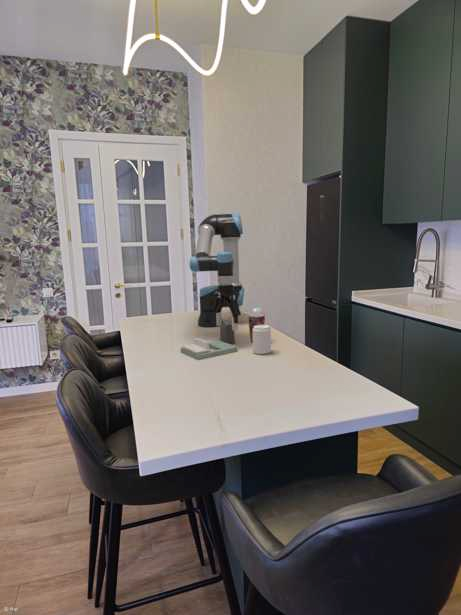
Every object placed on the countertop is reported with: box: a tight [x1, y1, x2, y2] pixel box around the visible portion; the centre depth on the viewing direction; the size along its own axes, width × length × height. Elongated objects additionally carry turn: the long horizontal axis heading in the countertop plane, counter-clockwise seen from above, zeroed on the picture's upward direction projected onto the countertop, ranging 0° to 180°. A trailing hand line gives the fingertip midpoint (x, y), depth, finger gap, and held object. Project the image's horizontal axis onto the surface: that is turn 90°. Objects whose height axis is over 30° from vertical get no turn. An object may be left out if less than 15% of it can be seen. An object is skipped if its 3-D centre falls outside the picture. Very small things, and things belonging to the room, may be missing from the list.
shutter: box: [181, 337, 211, 354], centre depth 180 cm, size 7×13×4 cm, turn 35°
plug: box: [219, 320, 236, 345], centre depth 197 cm, size 5×5×11 cm
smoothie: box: [247, 301, 266, 344], centre depth 197 cm, size 8×8×20 cm
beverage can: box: [252, 324, 272, 355], centre depth 180 cm, size 8×8×12 cm
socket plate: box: [180, 340, 239, 361], centre depth 184 cm, size 21×16×2 cm
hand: (227, 327), depth 196 cm, fingers open, 13 cm apart
